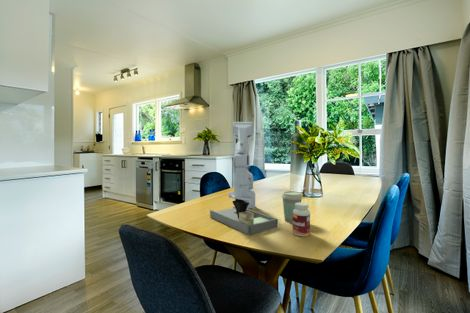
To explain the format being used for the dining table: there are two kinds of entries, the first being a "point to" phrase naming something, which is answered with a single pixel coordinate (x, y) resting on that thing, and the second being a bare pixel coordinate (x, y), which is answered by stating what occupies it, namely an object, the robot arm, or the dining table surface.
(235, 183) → the robot arm
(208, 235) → the dining table surface
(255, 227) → the box
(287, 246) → the dining table surface
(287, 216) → the coffee cup
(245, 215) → the birch block
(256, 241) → the dining table surface
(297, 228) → the pill bottle
